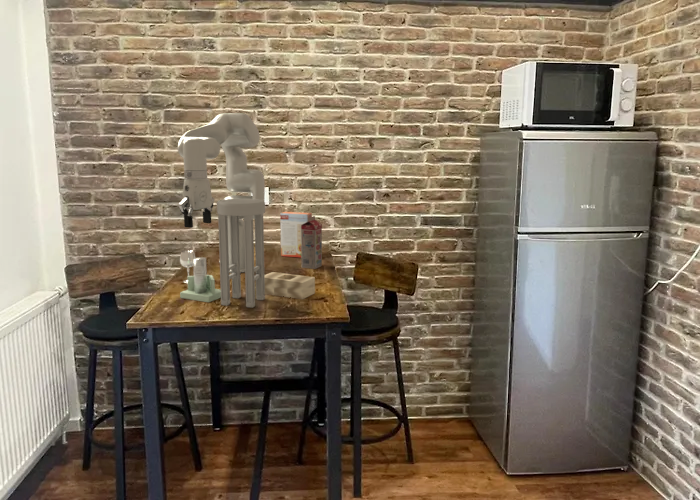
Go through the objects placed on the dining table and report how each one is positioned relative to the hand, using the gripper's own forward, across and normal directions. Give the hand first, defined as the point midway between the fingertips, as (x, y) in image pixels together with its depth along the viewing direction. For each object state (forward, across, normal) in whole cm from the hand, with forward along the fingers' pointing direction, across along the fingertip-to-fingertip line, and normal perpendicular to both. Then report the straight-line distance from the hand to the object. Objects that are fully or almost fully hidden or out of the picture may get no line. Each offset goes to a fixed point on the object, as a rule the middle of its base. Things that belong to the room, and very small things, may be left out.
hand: (198, 225), depth 202 cm
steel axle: (+24, 0, 0) cm, 24 cm away
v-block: (+26, +1, 0) cm, 26 cm away
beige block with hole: (+26, +18, -24) cm, 40 cm away
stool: (+26, +2, -17) cm, 31 cm away
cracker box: (+27, +76, +6) cm, 81 cm away
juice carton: (+27, +60, -11) cm, 67 cm away
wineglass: (+26, +15, +19) cm, 36 cm away
